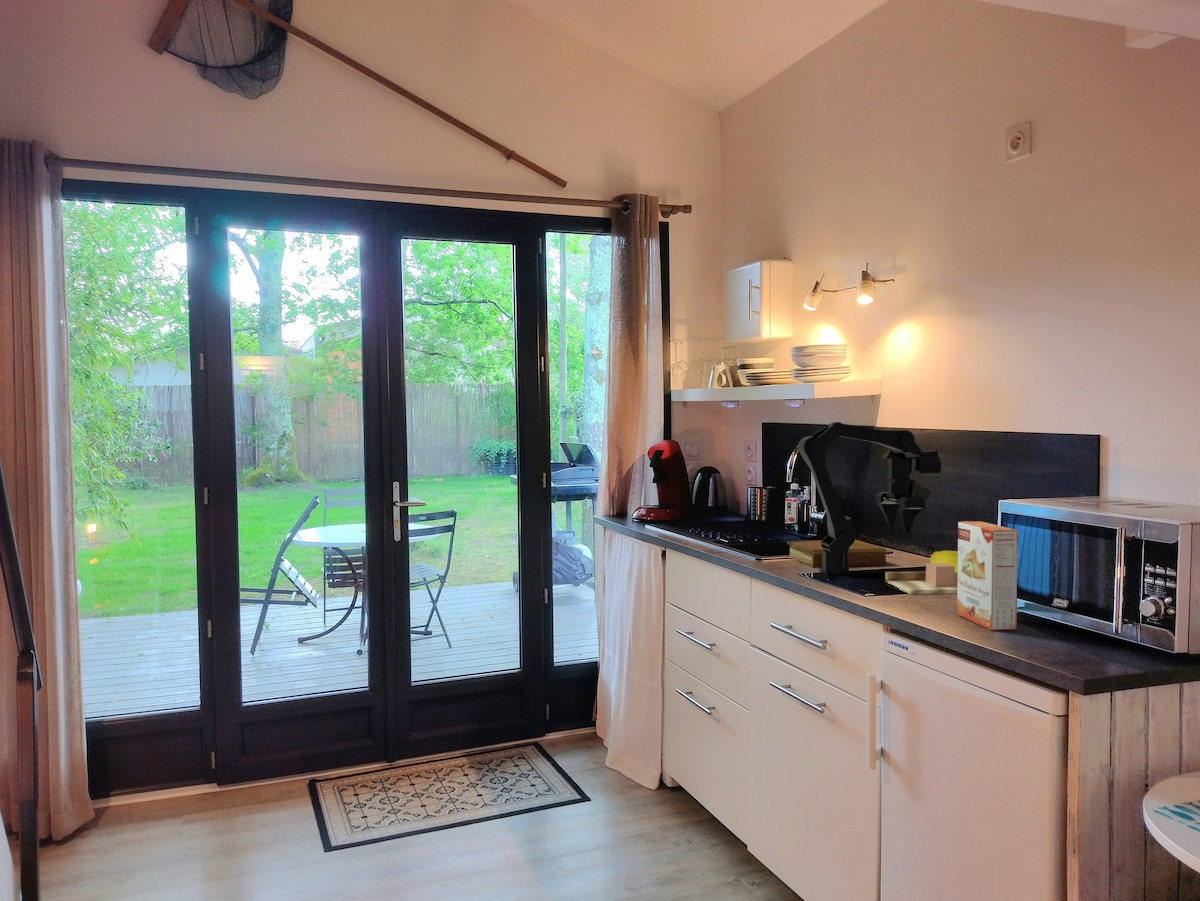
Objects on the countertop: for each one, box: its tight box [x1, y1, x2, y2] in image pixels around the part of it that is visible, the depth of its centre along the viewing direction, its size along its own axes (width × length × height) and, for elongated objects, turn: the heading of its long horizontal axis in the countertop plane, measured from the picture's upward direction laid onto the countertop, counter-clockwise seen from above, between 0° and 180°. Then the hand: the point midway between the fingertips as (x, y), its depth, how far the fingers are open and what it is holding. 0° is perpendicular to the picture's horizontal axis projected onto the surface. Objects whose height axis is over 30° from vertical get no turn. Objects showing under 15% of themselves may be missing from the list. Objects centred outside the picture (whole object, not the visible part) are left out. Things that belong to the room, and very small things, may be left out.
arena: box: [884, 570, 958, 595], centre depth 217 cm, size 18×14×3 cm
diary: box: [786, 539, 887, 569], centre depth 257 cm, size 23×19×6 cm
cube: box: [925, 562, 955, 586], centre depth 216 cm, size 5×5×5 cm
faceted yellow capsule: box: [929, 550, 958, 573], centre depth 235 cm, size 18×7×8 cm
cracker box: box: [956, 520, 1019, 632], centre depth 179 cm, size 14×6×21 cm, turn 5°
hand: (899, 530), depth 237 cm, fingers open, 9 cm apart
